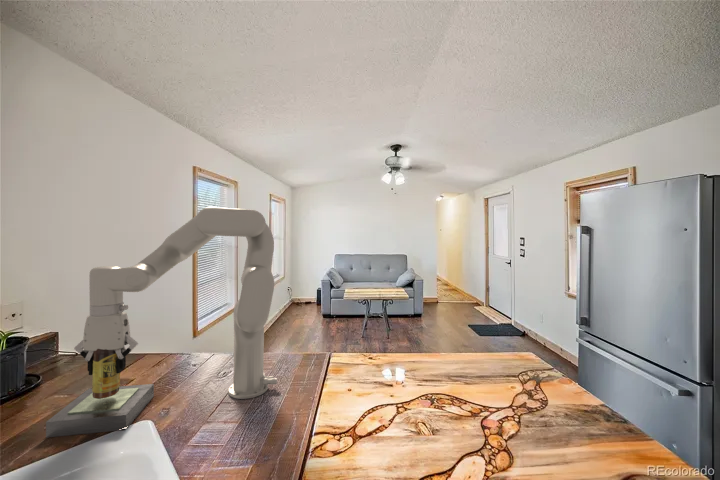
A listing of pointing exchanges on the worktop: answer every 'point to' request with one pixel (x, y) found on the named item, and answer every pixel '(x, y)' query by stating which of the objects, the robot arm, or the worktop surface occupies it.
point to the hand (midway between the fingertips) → (107, 371)
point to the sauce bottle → (105, 374)
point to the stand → (100, 412)
